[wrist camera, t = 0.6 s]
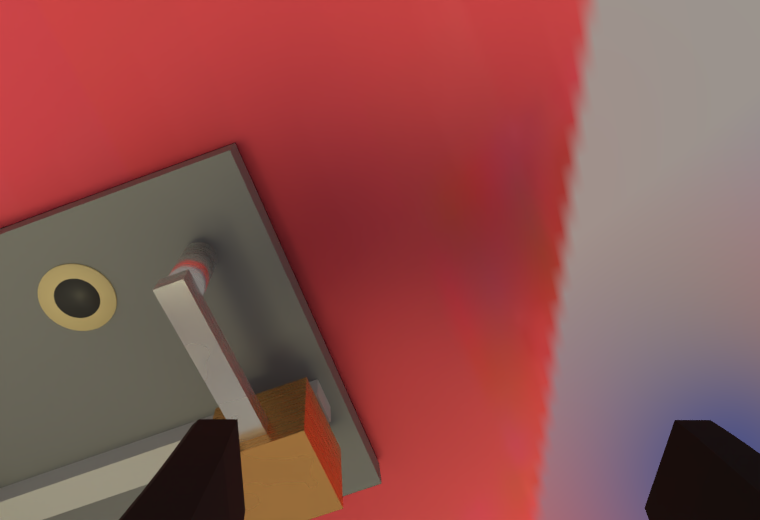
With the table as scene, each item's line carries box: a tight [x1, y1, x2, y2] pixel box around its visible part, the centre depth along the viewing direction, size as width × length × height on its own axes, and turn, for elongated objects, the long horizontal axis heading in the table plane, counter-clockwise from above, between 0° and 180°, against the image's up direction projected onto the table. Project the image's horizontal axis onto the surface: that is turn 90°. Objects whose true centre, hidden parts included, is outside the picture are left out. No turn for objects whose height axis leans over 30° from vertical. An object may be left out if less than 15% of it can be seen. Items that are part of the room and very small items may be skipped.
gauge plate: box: [0, 143, 381, 520], centre depth 19 cm, size 18×13×2 cm
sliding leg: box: [153, 242, 343, 520], centre depth 16 cm, size 3×8×3 cm, turn 19°
